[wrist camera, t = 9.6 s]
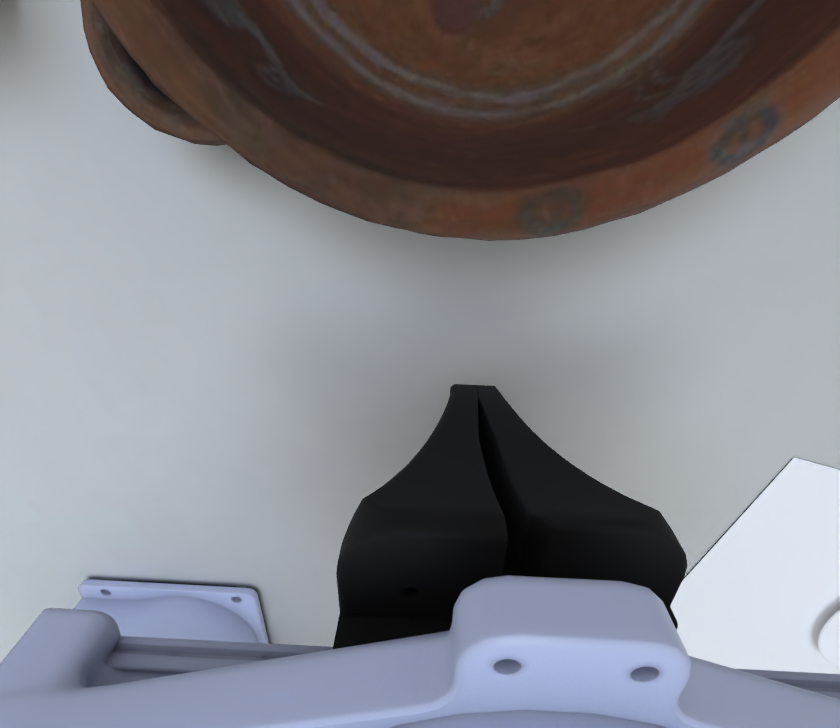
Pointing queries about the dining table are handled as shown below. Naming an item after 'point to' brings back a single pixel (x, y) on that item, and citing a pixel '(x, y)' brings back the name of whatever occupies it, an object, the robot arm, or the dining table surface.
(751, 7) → the dish
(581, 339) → the dining table surface
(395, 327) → the dining table surface
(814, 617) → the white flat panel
